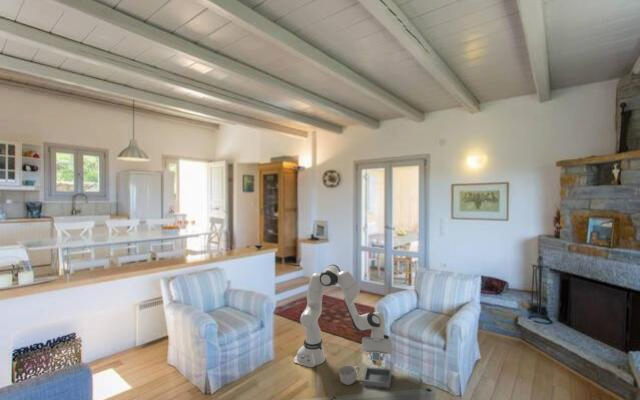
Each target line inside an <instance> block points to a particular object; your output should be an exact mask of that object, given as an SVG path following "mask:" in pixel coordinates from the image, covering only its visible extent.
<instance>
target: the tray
mask: <svg viewBox="0 0 640 400" xmlns="http://www.w3.org/2000/svg"><path fill="white" fill-rule="evenodd" d="M392 374H393V373H392V369H391V368H379V367H369V366H368V367H367V366H366V367H365V371H364V374H363V379H362V386H363V387H368V388H369V387H370V388H378V389H386V388H389V389H388V390H390V389H391V383H392Z"/></svg>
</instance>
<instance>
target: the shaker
mask: <svg viewBox="0 0 640 400" xmlns="http://www.w3.org/2000/svg"><path fill="white" fill-rule="evenodd" d="M371 356H372V360H371V362H372V363H373V365H374V366H381V367H382V363H383V361H381V357H382V356H383V355H382V353H380V352H372V354H371ZM377 360H380V361H381V365H377V364H376V361H377Z"/></svg>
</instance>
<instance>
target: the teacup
mask: <svg viewBox="0 0 640 400" xmlns="http://www.w3.org/2000/svg"><path fill="white" fill-rule="evenodd" d="M359 372H360V367H359V366H358V365H356V366H354V365H350V364H349V365H343V366H341V367H340V368H339V369H338V375H339V380H340V382H341V383H342V384H343V385H345V386H351V385H353V384H354V383H355V382H356V380H357V374H359Z"/></svg>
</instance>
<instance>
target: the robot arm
mask: <svg viewBox="0 0 640 400" xmlns="http://www.w3.org/2000/svg"><path fill="white" fill-rule="evenodd" d="M337 284H338V286H339V287H340V288H341V290H342V293H343V295H344V297H343V302H344V303H345V304H344V305H345V307H346V309H347V312H348V314H349V316H350V319H351V323H352V326H353V328H354V329H355V330H356V331H357V332H363V331H367V330H369V329H370V330H371V331H370V336H363V337H362V338H361V350H362V352H365V353H368V354H369V356H370V360H371V361H372V352H380V353H381V354H382V355H381V356H382V357H381V361H382V362H383V361H384V358H385V357H386V355H387V354H388V355H393V354H394V346H393V342H392V337H391V336H390V335H387V334H386V333H385V326H386V325H385V321H386V320H385V316H384V314H383V313H382V312H379V311H374V312H367V313H363V314H359V312H358V309H357V307H356V305H355V300H356V299H357V298H358V297H359V295H360V291H361V289H360V286H359V284H358V282H357V281H356V279H355V277H354V276H353V275H352V274H351V273H350V271H348V270H342V271H341V269H340V267H339V266H338V265H336V264H330V265H328V266H326V267H325V268H324V269H323V270H322V271H321V272H314V273H313V274H311V277H310V279H309V282H308V287H307V293H306V299H307V304H306V307H305V308H304V311H302V313H301V315H300V318H299V321H300V324H301V326H302V327H304V332H305V339H304V341H303V343H302V344H303V345H302V346H301V347H300V348H298V350H297V352H296V355H295V357H294V358H293V359H294V360H293V362H295V363H294V364H296V363H297V364H296V365H301V366H304V367H309V368H314V367H316V366H318V365H321V364H323V363H324V362H325V361H326V356H325V353H324V349H323V348H324V347H323V346H324V345H323V338H322V330H321V328H320V326H319V322H318V321H319V318H320V316H321V314H322V310H323V298H324V297H323V296H324V290H325V287H330V286H336V285H337Z"/></svg>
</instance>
